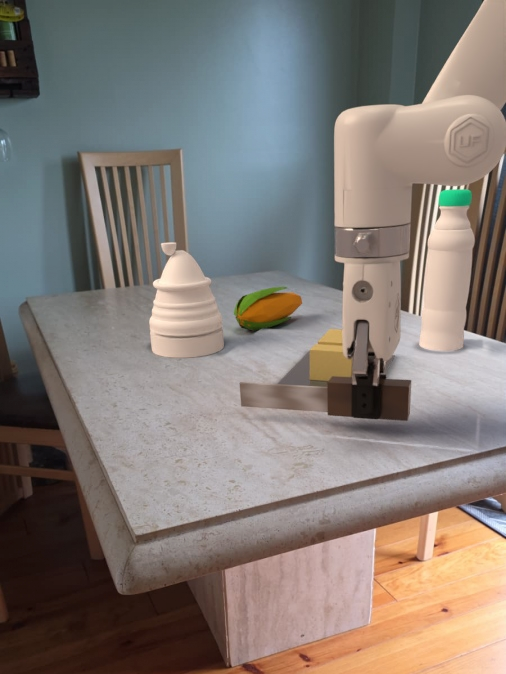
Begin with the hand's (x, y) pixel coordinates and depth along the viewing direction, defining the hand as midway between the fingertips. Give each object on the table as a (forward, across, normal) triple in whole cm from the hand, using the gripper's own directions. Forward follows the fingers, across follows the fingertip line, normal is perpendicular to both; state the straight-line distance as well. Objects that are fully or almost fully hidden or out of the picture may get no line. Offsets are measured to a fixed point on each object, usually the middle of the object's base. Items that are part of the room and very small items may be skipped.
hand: (368, 411), depth 71 cm
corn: (+3, +52, +29) cm, 59 cm away
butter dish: (+3, +22, +8) cm, 24 cm away
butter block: (+2, +25, +8) cm, 26 cm away
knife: (0, 0, +6) cm, 6 cm away
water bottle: (+4, +40, -5) cm, 40 cm away
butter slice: (+2, +18, +8) cm, 20 cm away
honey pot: (+3, +32, +38) cm, 49 cm away
